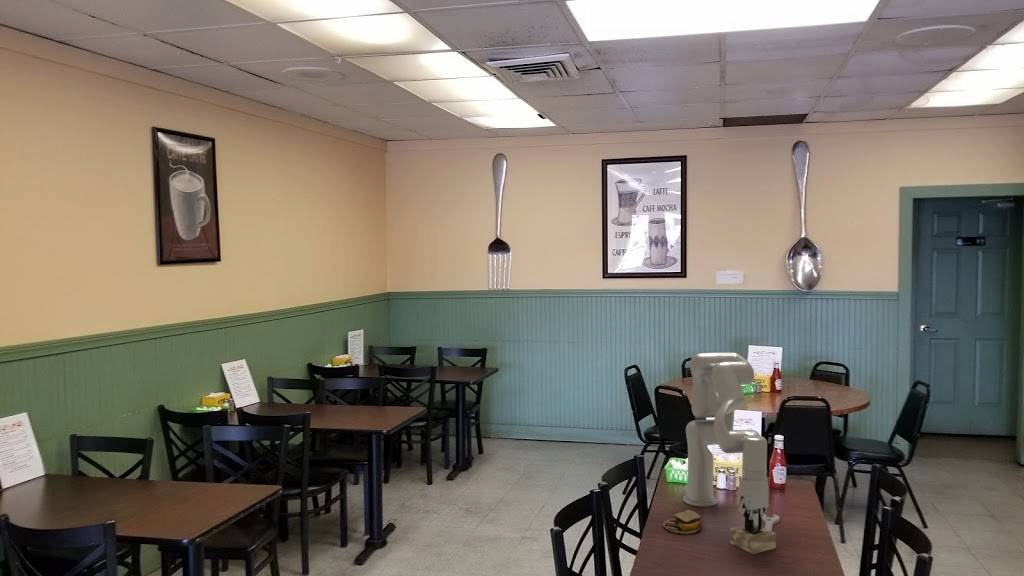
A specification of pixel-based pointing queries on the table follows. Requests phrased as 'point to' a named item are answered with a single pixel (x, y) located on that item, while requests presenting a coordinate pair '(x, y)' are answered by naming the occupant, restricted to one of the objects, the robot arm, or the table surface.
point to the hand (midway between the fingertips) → (753, 528)
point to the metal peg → (755, 521)
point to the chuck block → (753, 539)
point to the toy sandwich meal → (684, 523)
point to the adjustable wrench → (770, 521)
